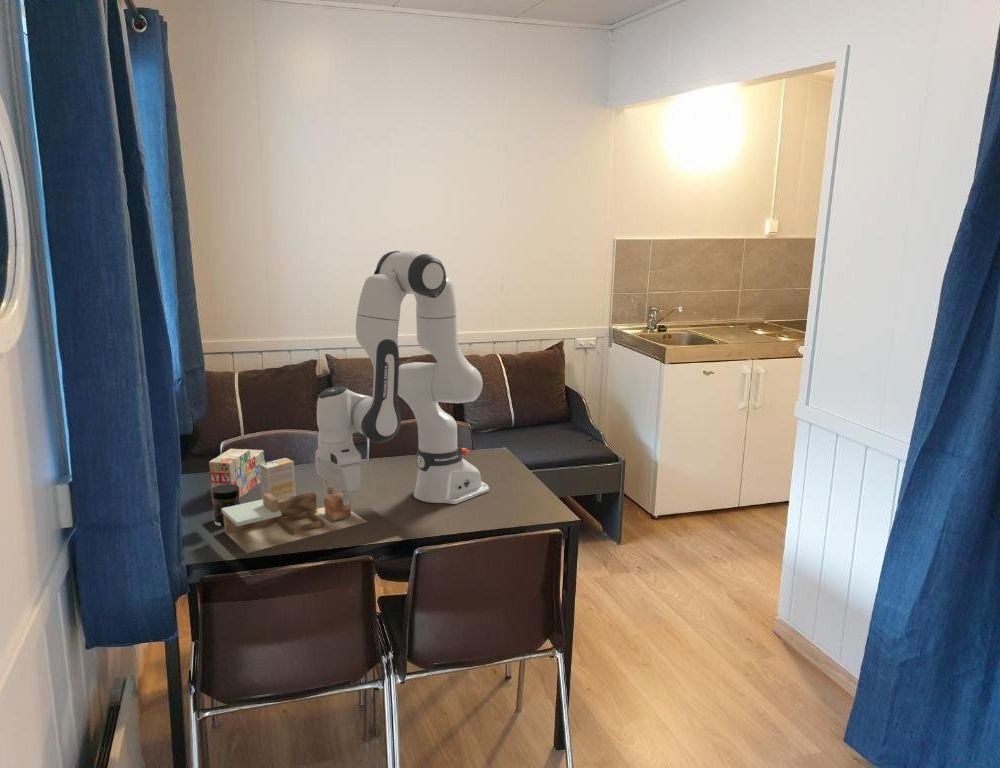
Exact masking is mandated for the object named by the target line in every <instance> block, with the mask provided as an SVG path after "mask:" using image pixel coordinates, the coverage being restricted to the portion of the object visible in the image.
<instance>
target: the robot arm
mask: <svg viewBox="0 0 1000 768" xmlns="http://www.w3.org/2000/svg"><path fill="white" fill-rule="evenodd" d="M407 294H408V295H409V294H413V296H414V298H415V300H416V304H415V305H416V308H415V311H416V312H415V315H416V318H415V319H416V340H417V343H418V345H419V346H420V347H421V348H422V349H423V350H424V351H426V352H428V353H430V354H431V355H432V356H433V357H434V358H435V360H436V362H421V361H420V362H419V361H415V362H407V363H401V364H400V353H399V343H398V341H399V338H398V337H399V326H400V318H401V305H402V303H403V300H404V298H405V297H406V295H407ZM456 305H457V304H456V296H455V290H454V286H453V282H452V280H451V279H450V278H449V277H448V276H447V273H446V268H445V266H444V264H443V263H442V261H441V260H440V259H439V258H437V257H436V256H435V255H431V254H428V253H421V252H418V251H400V250H393V251H390V252H387V253H385V254H384V255H382V256H381V258H380V259H379V260H378V262H377V264H376V267H375V270H374V272H373V274H372V275H370V276H368V277H367V278H366V280H365V281H364V283H363V286H362V289H361V293H360V296H359V300H358V306H357V310H356V311H357V312H356V320H355V334H356V335H355V337H356V340H357V342H358V344H359V345H360V347H361V348H362V349H363V350H364V351H365V352H366V355H367V356H368V357H369V359H370V362H371V363H372V367H373V383H372V386H373V387H372V396H369V395H365V394H360V393H357V392H354V391H352V390H349V389H348V388H347V387H345V386H333V387H328V388H325V389H323V390H322V391H321V392H320V393H319V394H318V398H317V401H316V423H317V424H316V425H317V428H318V434H317V435H318V436H317V449H316V451H315V455H314V459H315V460H314V468H315V473H316V474H317V475H319V476H320V477H321V478H322V481H323V485H324V488H325V493H326V494H328V496H330V495H335V487H336V488H337V489H339V490H340V491H341V493H343V498H341V503H342V504H343V505H344V506H346V505H349V504H350V500H351V496H352V494H354V493H357V492H359V491H360V489H361V481H362V480H361V466H360V464H359V463H360V462H361V461H362V455H361V453H360V451H359V450H358V449H357V448H356V446H355V443H354V442H353V434H355V433H360V434H362V435H363V436H365V437H366V438H367V439H368V440H369V441H371V442H372V443H375V444H383V443H384V444H385V443H387V442H389V441H391V440H392V439H393V438H394V437H395V436H396V435H397V434H398V432H399V431H400V428H401V424H402V418H401V413H400V409H399V403H398V401H399V400H398V398H399V397H400V398H401V399H402V400H403V401H404V402H405V403H406V404H407V405H408V406H409V408H410V409H411V411H412V412H413V415H414V417H415V420H416V424H417V434H418V435H417V436H418V447H417V448H416V449H417V451H416V452H417V454H416V456H417V457H416V460H417V461H416V462H417V478H416V483H415V487H414V492H413V496H414V498H415V499H416V500H419V501H421V502H425V503H433V504H434V503H436V504H441V503H442V504H451V505H458V504H460V503H462V502H464V501H467V500H469V499H473V498H475V497H477V496H479V495H482V494H486V493H488V492H489V491H490V488H489V485H488V484H487V483H486V482H484V481H482V476H481V473H480V470H479V469H478V468H477V467H476V466H475V465H473V464H471V463H470V462H468V461H467V460H466V459H464V458H463V456H468V455H469V453H470V450H469V449H468V448H466V447H462V448H461V446H458V424H457V422H456V420H455V418H454V417H453V416H451V414H449V413H447V412H445V411H444V410H443V409H442V408H441V406H440V405H439V403H449V404H464V403H470V402H475V401H476V400H478V398H479V397H480V395H481V393H482V391H483V386H484V385H483V382H484V381H483V377H482V375H481V372H480V371H479V370H478V369H477V367H475V366H473V365H472V363H470V362H469V361H468V359H467V358H466V357H465V355H464V354H463V352H462V349H461V347H460V344H459V338H458V329H457V326H458V325H457V306H456ZM398 396H399V397H398ZM334 486H335V487H334Z"/></svg>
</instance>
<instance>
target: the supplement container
mask: <svg viewBox="0 0 1000 768" xmlns="http://www.w3.org/2000/svg"><path fill="white" fill-rule="evenodd" d="M240 499H241V498H239V486H238V485H234V484H223V485H218V486H215V487H214V488H212V496H211V502H212V501H213V502H212V513H213V523H214V524H215V525H216V526H220V527H224V517H223V513H222V510H221V508H225V507H230V506H235V505H239V504H241V500H240Z"/></svg>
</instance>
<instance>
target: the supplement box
mask: <svg viewBox="0 0 1000 768" xmlns="http://www.w3.org/2000/svg"><path fill="white" fill-rule="evenodd" d="M259 467H260V481H261V482H260V492H261V500H262V499H263V494H265V493H270V494H271V495H273V496H274V497H276V498H277V499H278V500H280V499H285V498H289V497H294V496H297V494H296V492H297V491H296V479H295V477H296V475H295V462H294V460H291V458H290V459H289V458H287V457H283V458H279V459H275V460H271V461H265V463H262V464H259Z"/></svg>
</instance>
